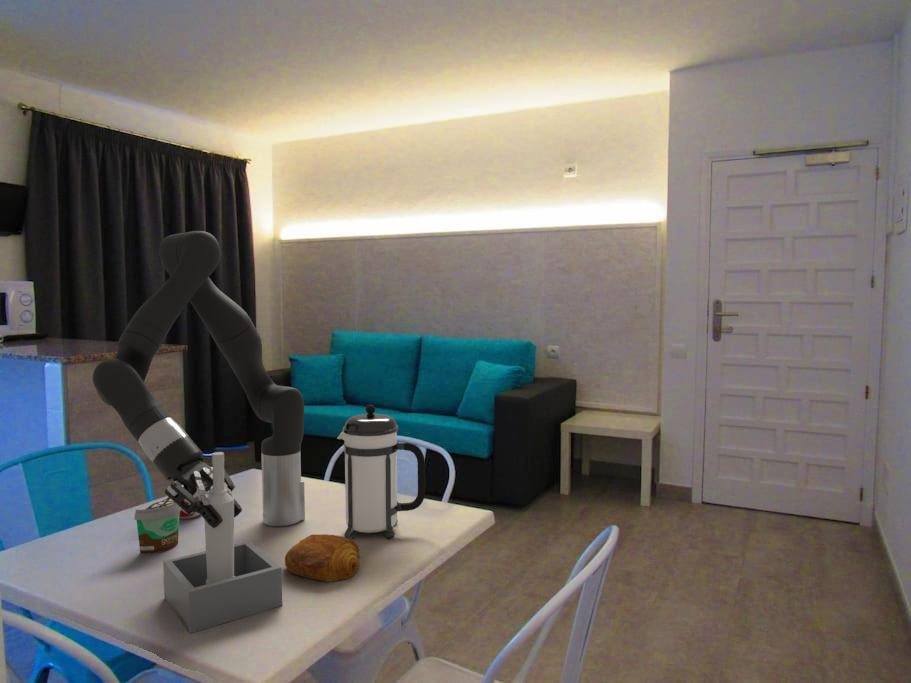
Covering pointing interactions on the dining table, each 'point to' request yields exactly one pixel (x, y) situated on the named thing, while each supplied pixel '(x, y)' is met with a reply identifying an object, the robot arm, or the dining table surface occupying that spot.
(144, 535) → the food container
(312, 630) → the dining table surface
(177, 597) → the charcoal tub
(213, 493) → the bottle
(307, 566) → the croissant
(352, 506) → the coffee press
